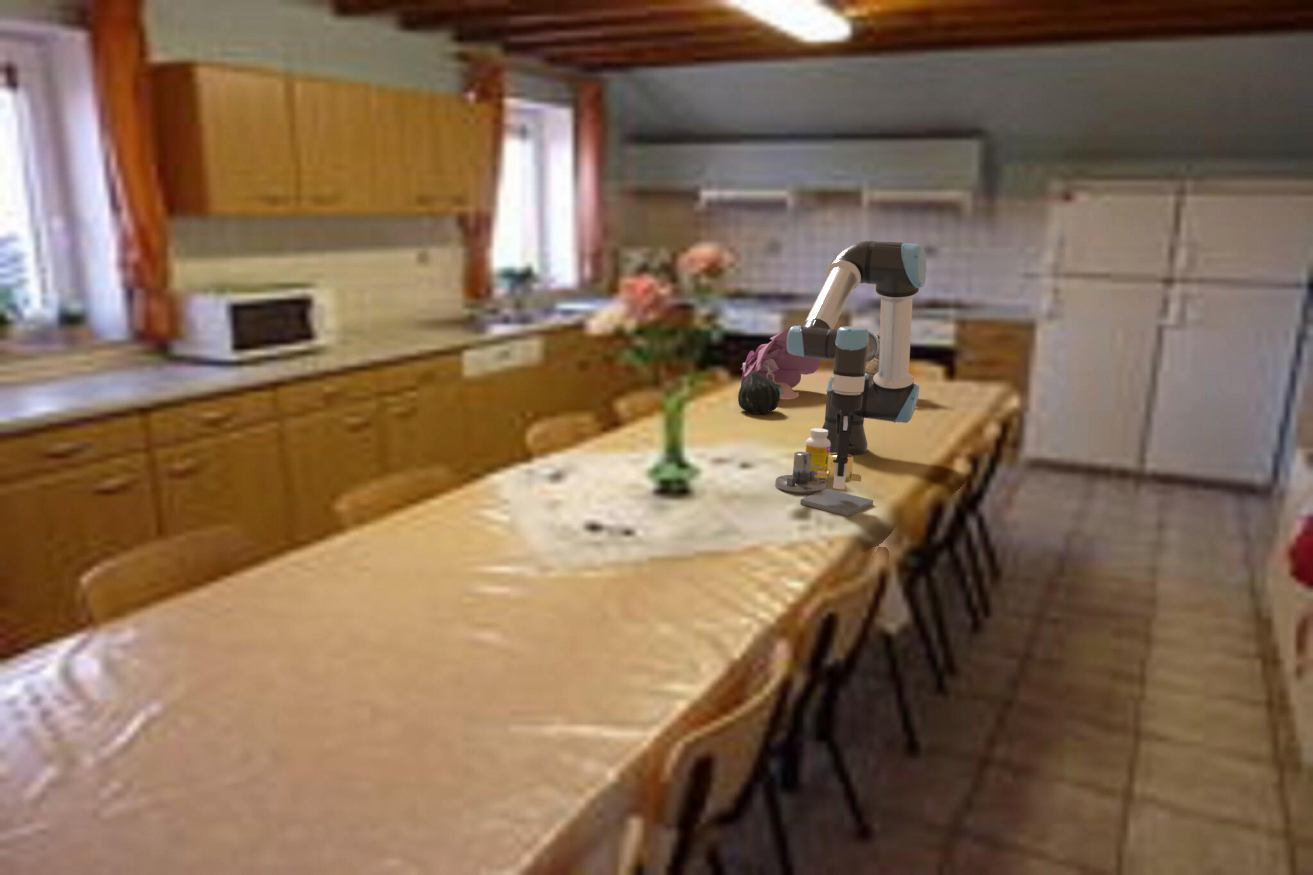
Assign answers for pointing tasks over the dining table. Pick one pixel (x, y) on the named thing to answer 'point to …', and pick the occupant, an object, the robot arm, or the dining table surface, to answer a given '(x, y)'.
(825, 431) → the supplement bottle
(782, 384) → the flower arrangement
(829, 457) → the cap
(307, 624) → the dining table surface
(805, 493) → the post
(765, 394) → the squash
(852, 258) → the robot arm
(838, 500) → the tile
